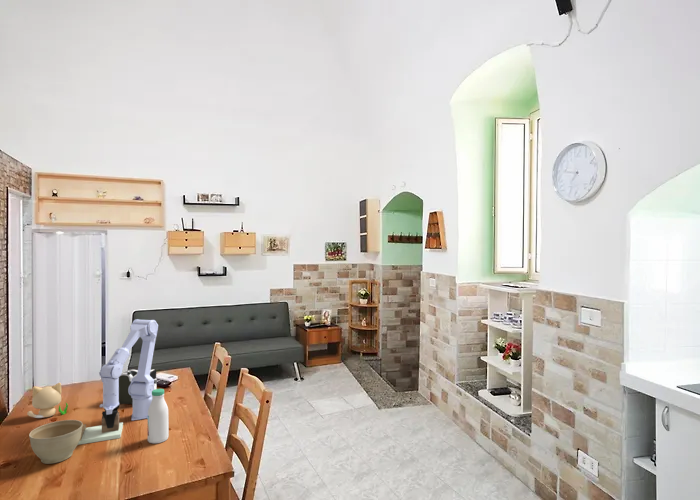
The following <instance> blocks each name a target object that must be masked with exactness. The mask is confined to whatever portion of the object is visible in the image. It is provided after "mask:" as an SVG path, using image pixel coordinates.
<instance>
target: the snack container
mask: <svg viewBox="0 0 700 500" xmlns="http://www.w3.org/2000/svg"><path fill="white" fill-rule="evenodd" d="M169 425H170V424H169V407H168V405H167V402H166V399H165V389H164V388H156V389H155V390H153V391H152V402H151V404H150V406H149V409H148V418H147V442H148V443H149V444H160V443H163V442H165V441H167V440H168V438H169V433H170V432H169Z"/></svg>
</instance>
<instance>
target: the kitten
mask: <svg viewBox="0 0 700 500" xmlns="http://www.w3.org/2000/svg"><path fill="white" fill-rule="evenodd" d="M31 396H32V400H31V401H32V402H31V405H32V407H33V408H34V409H38V410H39V411H38V414H36V413H34V412H33V411H32V410H29V411H27V413H26V414H27V416H28V417H31V418H36V419H42V418H45V419H46V418H49V417H52V416H54V415H56V411H57V410H56V406H58V405H59V406H58V412H59V414H60V415H65V414H67V413H68V412H67V410H68V407H69V404H68V403H67V402H65V407H64V409H63V410H62V409H61V405H60V403H61V402H62V383H61V382H58V383H56V384H54V385H52V386H51V385H47V386H43V387H40V386H36V385H35V386H34V385H33V387H32V395H31Z"/></svg>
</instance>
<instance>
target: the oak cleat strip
mask: <svg viewBox="0 0 700 500" xmlns="http://www.w3.org/2000/svg"><path fill="white" fill-rule="evenodd" d="M86 428H87V424H83V426H82V433H81V437H80V440H79V441H81V439H82V436H83V434H84V431H85V429H86Z"/></svg>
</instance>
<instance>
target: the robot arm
mask: <svg viewBox="0 0 700 500" xmlns="http://www.w3.org/2000/svg"><path fill="white" fill-rule="evenodd" d="M158 330H159V324H158V323H157V321H156V320H155V319H139V318H137V319H136V318H135V319H134V320H133V321H132V322H131V325H130V326H129V333H128V335H127V337H126V338H125V340H124V342H123V344H122V346H121V347H119V348H117V349H116V350H115V351H114V353H113V355H112V356H111V357H110V359H109V360H108V362H107V363H105V364H104V365H102V367H101V368H100V370H99V372H98V373H99V377H100V378H101V382H102V403H101V404H99V408H103V409H104V411H102V413H101V414H102V415H103V416H104V418H105V421H106V425H107V428H113V426H114V422H115V417H116V414H117V412H119V407H120V403H119V377H120V375H121V374H122V373H123V369H124V365H125V363H126V361H127V360H128V358H129V357H130V356H131V355H130V353H131V352H130V351H131V350H132V347H134V345H135V344H136V343H137V341H138V340H139V339H141V340H142V345H141V350H140V354H139V360H138V361H139V362H138V366H137V367H138V368H137V370H138V372H137V375H136V376H135V377H134V378H132V380H131V384H130V386H129V388H128V393H129V395H131V398H133V404H132V414H131V419H130V420H131V421H137V420H138V421H139V420H143V419H144V420H145V419H148V409H149V406H150V404H151V402H152V391H153V390H154V379H153V378H152V377H151V376H150V370H151V369H152V364H153V356H154V352H155V344H156V341H157V335H158ZM140 381H141V382H140ZM144 382H145V383H144ZM102 415H101V416H102Z"/></svg>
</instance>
